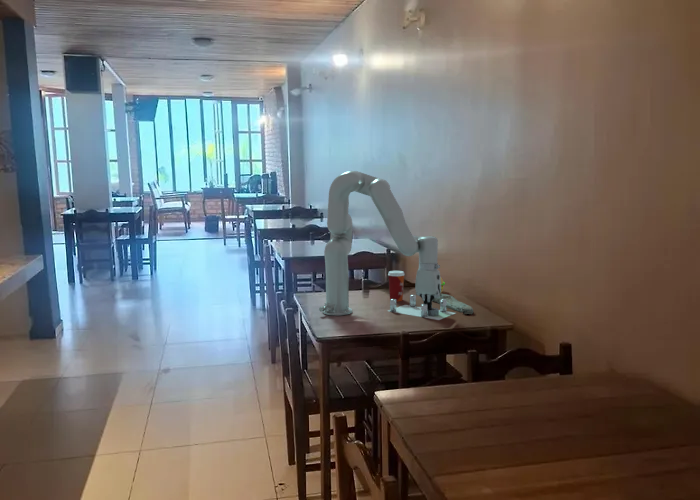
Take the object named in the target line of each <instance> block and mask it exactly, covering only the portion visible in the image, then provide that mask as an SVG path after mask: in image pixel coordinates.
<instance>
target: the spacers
mask: <svg viewBox="0 0 700 500" xmlns="http://www.w3.org/2000/svg"><path fill="white" fill-rule="evenodd" d="M416 303H417V295H416V294H409V305H410V307H417V304H416ZM389 304H390V305H389V310H390V311H389V312H390V313H396V308H397V301H396V299H390V298H389ZM420 307H421V317H420V318H424V317H427V304H424V303H421V304H420ZM447 309H448V308H447V300H446V299H441V300H440V304H439V310H440V312H446V311H447Z"/></svg>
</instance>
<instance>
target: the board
mask: <svg viewBox="0 0 700 500" xmlns="http://www.w3.org/2000/svg"><path fill="white" fill-rule="evenodd" d="M387 312H390V309H387ZM395 313H396V314H402V315H409V316H412V317H419V318H422V317H421V306H416V307H410V304H404V305H400V306H396V312H395ZM455 314H456V312H453V311H447V310H446V312H440V309H439V316H428V315H427V317H423V318H425V319H431V320H436V321H440V320H443V319H445V318H448V317H451V316H453V315H455Z"/></svg>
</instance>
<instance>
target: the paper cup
mask: <svg viewBox="0 0 700 500" xmlns="http://www.w3.org/2000/svg"><path fill="white" fill-rule="evenodd" d="M405 275H406V274H405V272H404V271H402V270H390V271H388V274H387V276H388V289H389V300H390V299H396V302H403V299H404V298H403V297H404V285H405V284H404V282H405Z"/></svg>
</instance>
